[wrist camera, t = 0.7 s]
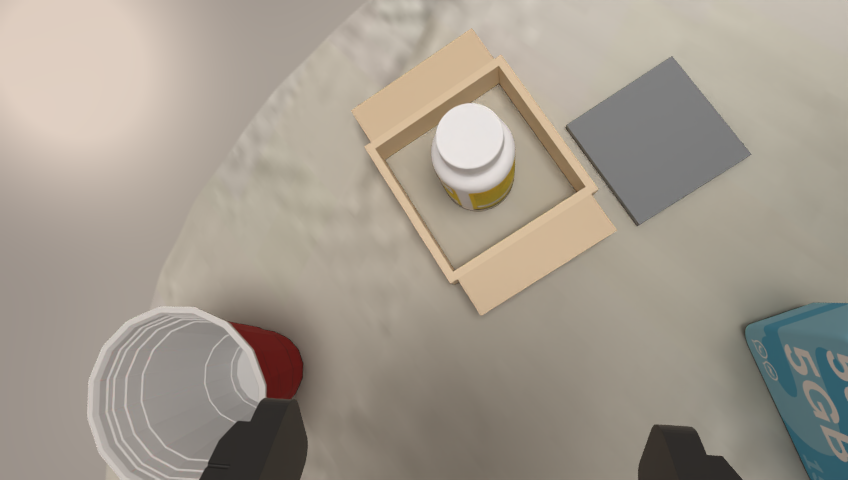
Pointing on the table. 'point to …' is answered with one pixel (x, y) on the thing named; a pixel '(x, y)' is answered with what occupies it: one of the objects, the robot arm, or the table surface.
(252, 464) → the robot arm
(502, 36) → the table surface
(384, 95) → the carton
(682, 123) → the coaster
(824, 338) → the data package
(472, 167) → the supplement bottle
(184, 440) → the plastic cup
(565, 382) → the table surface
